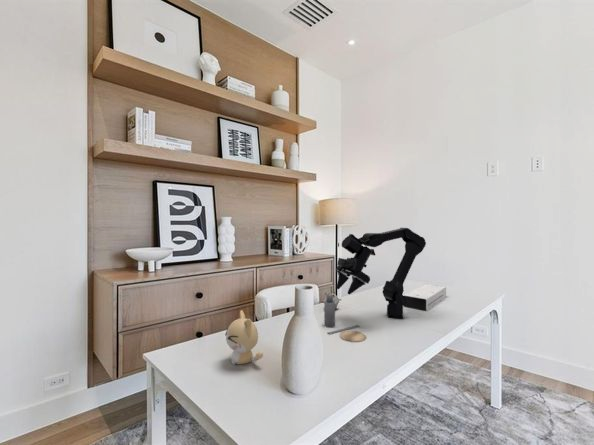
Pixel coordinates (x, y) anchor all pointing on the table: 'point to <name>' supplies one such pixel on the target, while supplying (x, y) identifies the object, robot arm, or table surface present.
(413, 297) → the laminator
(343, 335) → the cork coaster
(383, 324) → the table surface
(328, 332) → the felt line
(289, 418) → the table surface
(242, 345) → the kitten
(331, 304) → the grey stepped cylinder
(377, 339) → the table surface
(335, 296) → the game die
